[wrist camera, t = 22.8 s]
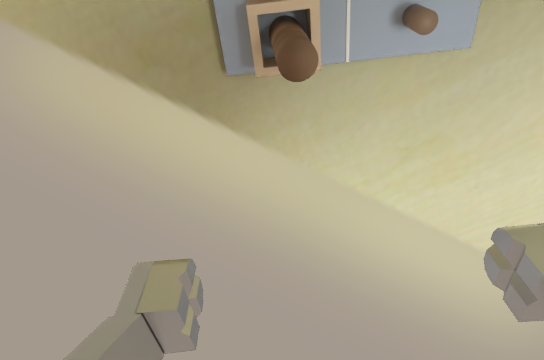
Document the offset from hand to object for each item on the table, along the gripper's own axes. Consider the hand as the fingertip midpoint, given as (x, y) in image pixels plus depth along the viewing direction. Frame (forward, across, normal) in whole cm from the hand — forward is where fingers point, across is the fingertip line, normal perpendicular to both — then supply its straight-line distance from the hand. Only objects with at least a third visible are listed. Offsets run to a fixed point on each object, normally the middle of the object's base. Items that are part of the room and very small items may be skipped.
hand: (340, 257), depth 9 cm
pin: (+28, 0, 0) cm, 28 cm away
